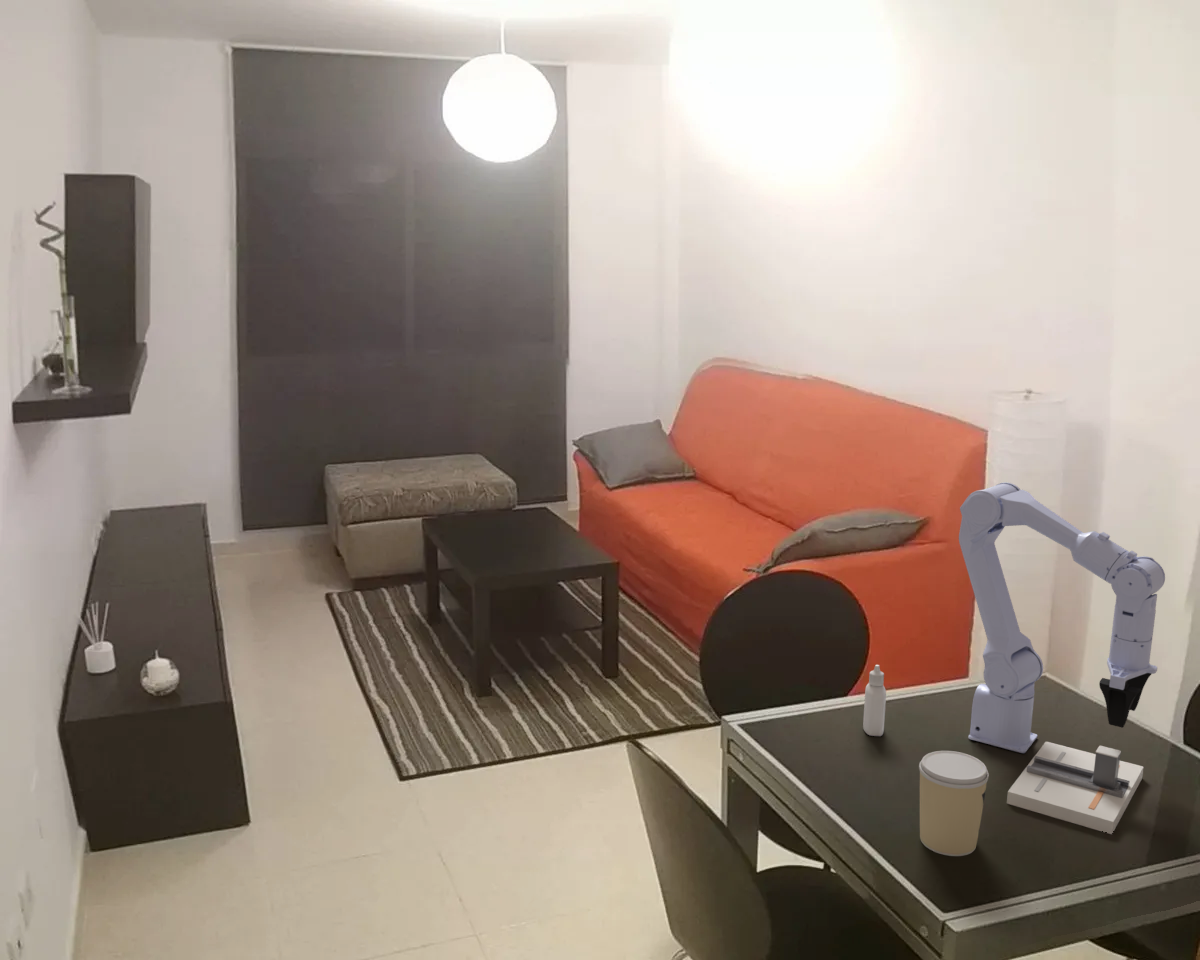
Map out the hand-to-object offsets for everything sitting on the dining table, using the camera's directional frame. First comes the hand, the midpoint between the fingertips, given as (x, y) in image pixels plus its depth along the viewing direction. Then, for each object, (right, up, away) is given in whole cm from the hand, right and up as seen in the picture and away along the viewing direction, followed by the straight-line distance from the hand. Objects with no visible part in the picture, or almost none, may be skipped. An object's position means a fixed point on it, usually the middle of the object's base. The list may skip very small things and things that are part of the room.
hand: (1122, 716), depth 177 cm
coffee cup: (-33, -15, -16) cm, 39 cm away
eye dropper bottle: (-35, -6, +19) cm, 40 cm away
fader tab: (-5, -10, -5) cm, 12 cm away
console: (-8, -11, -2) cm, 14 cm away
